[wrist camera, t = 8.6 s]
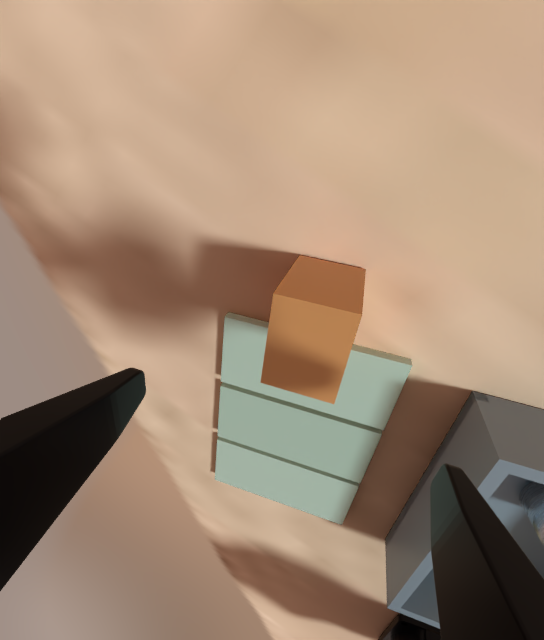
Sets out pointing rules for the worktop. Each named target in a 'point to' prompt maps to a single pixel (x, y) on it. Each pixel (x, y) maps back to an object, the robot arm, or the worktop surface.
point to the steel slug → (534, 506)
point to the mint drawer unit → (304, 393)
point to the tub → (490, 480)
